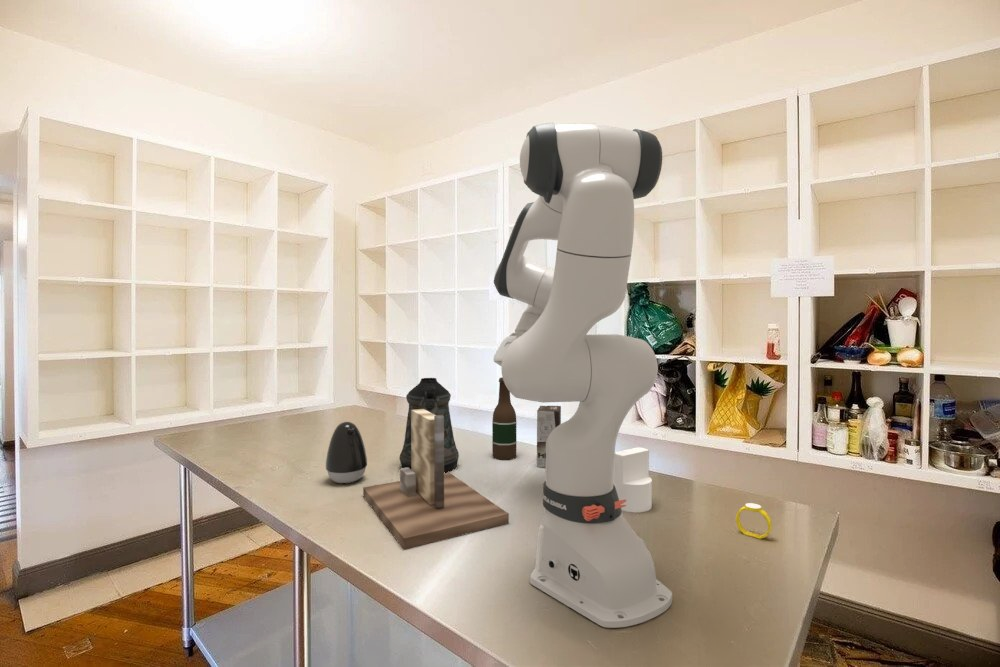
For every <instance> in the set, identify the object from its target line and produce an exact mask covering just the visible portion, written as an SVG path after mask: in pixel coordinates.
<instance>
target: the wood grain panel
mask: <svg viewBox="0 0 1000 667" xmlns="http://www.w3.org/2000/svg"><path fill="white" fill-rule="evenodd" d="M411 470H412V471H413V472H415V473H416V491H417V492H418V493H419V494H420V495H421V496H422V497H423V498H424V499H425V500H426V501H427V502H428V503H429V504H430V505H432V504H435V507H436V508H442V507H444V416H443V415H435V414H433V413H431V412H429V411H427V410H425V409H416V410H411Z"/></svg>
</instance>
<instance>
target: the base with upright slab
mask: <svg viewBox="0 0 1000 667" xmlns="http://www.w3.org/2000/svg"><path fill="white" fill-rule="evenodd" d="M649 468H650V450H649V449H647V448H644V447H641V446H640V447H633V448H628V449H623V450H619V451H615V455H614V474H613V484H614V486H615V488H616V491H617V494H618V498H619V501H620V500H624V499H625V500H626V502H624V503H623V504H620V505H626V506H625V507H621V509H622V512H627V513H644V512H649V511H650V510H652V507H653V506H652V502H653V498H652V497H653V491H652V490H653V480H652V478H651V477H650V475H649V474H650V469H649Z"/></svg>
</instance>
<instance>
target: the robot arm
mask: <svg viewBox="0 0 1000 667" xmlns="http://www.w3.org/2000/svg"><path fill="white" fill-rule="evenodd" d="M662 166H663V149H662V145H661V143H660V141H659V139H658V137H657V136H656V135H655V134H653V133H651V132H649V131H646V130H642V129H638V128H634V129H632V130H631V129H626V128H621V127H616V126H609V125H600V124H599V125H598V124H596V123H591V122H590V123H587V122H586V123H585V122H581V123H580V122H579V123H576V122H575V123H562V124H561V123H560V124H555V123H554V122H546V123H541V124H536V125H534V126H532V127H531V129H530V130H529V131H528V132H527V133H526V138H524V141H523V144H522V146H521V150H520V154H519V168H520V173H521V175H522V177H523V183H524V184H525V186H527V188H528V189H529V190H530V191H531V192H532V193H534V194H536V195H538V198H537V199H536V200H535V201H533V202H528V203H526V204H525V206H524V207H523V208H522V210H521V211H520V213H519V215H518V216H517V219H516V221H515V224H514V226H513V228H512V229H511V230H512V231H511V233H510V236H509V239H508V241H507V244H506V247H505V249H504V252H503V254H502V258H501V260H500V262H499V264H498V266H497V268H496V269H495V273H494V278H493V284H494V285H493V286H494V287H495V289H496V291H497V293H498V294H499V295H500V296H502V297H506V298H510V299H512V300H513V299H514V300H515V301H516V300H517V301H520V303H523V304H527V307H526V309H525V310H524V311H523V313H522V314H521V316H520V319H519V321H518V323H517V325H516V327H515V330H514V332H512V333H511V334H510V335H509V336H506V337H504V339H503V340H502V341H501V342H500V345H499V346H498V348H497V350H496V351H495V354H494V356H493V362H494V363H495V364H497V365H498V366H500V368H501V369H500V370H501V376H502V377H503V380H504V383H505V385H506V387H507V389H508V390H509V391H510V395H512V397H514V398H515V399H520V400H525V401H531V402H535V403H537V402H538V403H567V402H568V403H571V402H574V403H575V402H577V403H578V402H579V404H578V407H577V410H576V411H575V413H574V414H573V415H572V416H571V417H570V418H569V419H567V420H566V421H564V422H561V424H560V425H559V426H557V427H556V428H555V429H554V430H553V431H552V432H551V433H550V435H549V436H548V439H547V441H546V467H545V480H544V481H543V483H542V484H543V485H542V486H543V488H542V490H541V494H542V496H541V497H542V506H543V508H544V510H543V512H544V513H543V516H542V519H541V523H540V525H539V528H538V535H537V544H536V553H535V564H534V565H535V566H534V568H533V570H532V571H531V573H530V577H529V583H530V584H531V585H532V586H534V587H535V588H537V589H538V590H540V591H542V592H543V593H545V594H547V595H549V596H550V597H552V598H553V599H555V600H557V601H559V602H560V603H562V604H564V605H565V606H566V607H568V608H571V609H572V610H573V611H575V612H577V613H579V614H580V615H582V616H584V617H585V618H587V619H588V620H590V621H592V622H594V623H595V624H596V625H599V626H600V627H602V628H609V629H611V628H613V629H615V628H625V627H627V628H628V627H631V626H636V625H638V624H642V623H645V622H647V621H649V620H652V619H653V618H656V617H658V616H659V615H661V614H662V613H665V611H667V610H668V609H669V608H670V607H671V605H672V603H673V600H674V598H673V591H671V589H669V588H668V587H667V586H666V585H664V584H663V583H662V582H661V581H660V580H658V579H657V577H656V568H655V561H654V559H653V556H652V554H651V552H650V550H648V547H647V545H646V543H645V542H646V541H645V540H644V539H643V538H641V537H639V536H638V535H637V533H636V532H635V531H634V529H633V528H632V527H631V526H630V523H628V521H627V520H626V518H624V516H623V514H622V512H623V511H622V509H621V507H625V506H626V505H620V504H623V503H624V502H626V500H625V499H624V500H620V501H619V498H618V494H617V491H616V488H615V486H614V484H613V474H614V455H615V452H616V444H617V443H616V442H617V438H618V436H619V432H620V429H621V427H622V424H623V422H624V420H625V418H626V417H627V415H628V413H629V412H630V411H631V409H632V408H633V406H635V405H636V403H637V402H638V401H640V400H641V399H642V398H643V397H645V395H647V394H648V393H649V392H650V391H651V390H652V388H653V387H654V385H655V383H656V381H657V377H658V373H659V369H658V368H659V366H658V365H659V364H658V360H657V357H656V354H655V352H654V350H653V348H652V347H651V345H650V344H649V343H648V342H647V341H646V340H644V339H643V338H637V337H633V336H627V335H621V334H614V333H613V334H588V333H589V332H590V330H591V329H592V328H593V327H594V326H595V325H596V324H597V323H599V322H600V321H602V320H604V319H606V318H607V317H610V316H612V315H613V314H615V313H616V312H617V311H618V310H619V309H620V308H621V306H622V304H623V303H624V301H625V297H626V294H627V293H626V292H627V286H628V280H629V279H628V278H629V275H630V274H629V272H630V266H631V260H632V252H633V244H634V235H635V234H634V231H635V202H634V200H638V199H641V198H645V197H647V196H648V195H649V194H650V193H651V191H653V190H654V189H655V187H656V185H657V183H658V181H659V179H660V175H661V171H662ZM535 240H536V241H537V240H551V241H557V245H556V253H555V254H556V255H555V266H554V268H551V267H548V266H545V265H543V264H539V263H537V262H534V261H531V260H530V259H527V258H526V257H525V256H524V254H525V251H526V249H527V247H528V244H529V242H530V241H535ZM502 377H501V378H502Z"/></svg>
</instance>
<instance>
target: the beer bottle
mask: <svg viewBox="0 0 1000 667" xmlns="http://www.w3.org/2000/svg"><path fill="white" fill-rule="evenodd" d="M498 382H499V387H498V400H497V405H496V406H495V408H494V411H493V413H492V424H491V425H492V427H491V428H492V430H491V431H492V433H491V434H492V443H491V444H492V445H491V446H492V451H491V453H492V458H493V459H495V458H496V459H495V460H498V459H499V460H498V461H510V459H511V460H514V459H516V458H517V413H516V410H515V408H514V406H513V405H512V401H511V393H510V391H509V390H508V389H507V387H506V385H505V383H504V380H503V377H499V379H498ZM513 458H514V459H513Z"/></svg>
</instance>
